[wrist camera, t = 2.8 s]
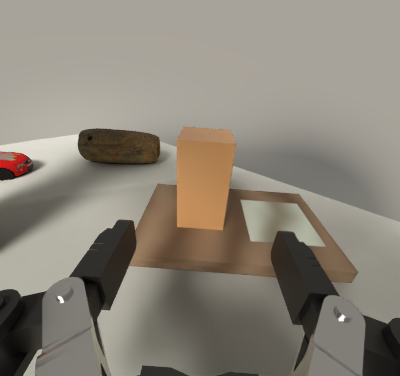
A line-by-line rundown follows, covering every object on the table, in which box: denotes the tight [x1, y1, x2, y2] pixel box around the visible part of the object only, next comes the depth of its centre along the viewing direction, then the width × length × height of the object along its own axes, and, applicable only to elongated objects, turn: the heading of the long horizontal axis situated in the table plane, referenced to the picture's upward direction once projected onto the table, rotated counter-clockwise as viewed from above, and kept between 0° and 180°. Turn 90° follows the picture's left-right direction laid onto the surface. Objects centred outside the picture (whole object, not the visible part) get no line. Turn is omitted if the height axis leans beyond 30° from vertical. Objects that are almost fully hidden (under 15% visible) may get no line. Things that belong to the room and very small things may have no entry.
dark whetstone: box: [78, 129, 160, 164], centre depth 40 cm, size 15×7×7 cm, turn 98°
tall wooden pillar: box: [177, 127, 236, 230], centre depth 22 cm, size 5×5×10 cm
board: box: [129, 184, 358, 283], centre depth 23 cm, size 22×14×8 cm, turn 87°
